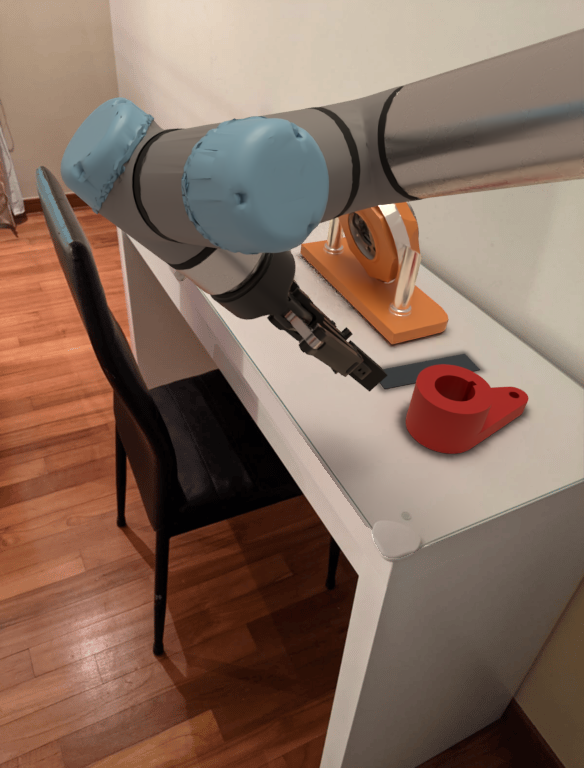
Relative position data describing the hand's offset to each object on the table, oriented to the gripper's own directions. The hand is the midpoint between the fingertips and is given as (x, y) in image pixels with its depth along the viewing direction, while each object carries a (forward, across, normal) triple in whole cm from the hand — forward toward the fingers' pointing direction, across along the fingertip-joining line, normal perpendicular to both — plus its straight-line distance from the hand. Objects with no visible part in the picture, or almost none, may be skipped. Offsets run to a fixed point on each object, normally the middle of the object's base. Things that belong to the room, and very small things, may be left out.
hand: (375, 379), depth 68 cm
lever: (+19, 0, +4) cm, 20 cm away
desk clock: (+21, -33, +5) cm, 39 cm away
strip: (+19, -11, +4) cm, 23 cm away
